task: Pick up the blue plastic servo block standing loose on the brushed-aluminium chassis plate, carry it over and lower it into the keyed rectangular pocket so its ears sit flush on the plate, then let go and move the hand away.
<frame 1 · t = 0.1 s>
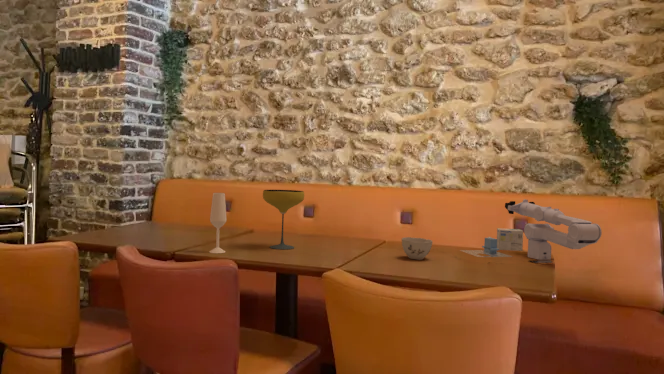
hand: (513, 205, 242), 22 cm above the table, tool horizontal, fingers open, 7 cm apart
teacup: (417, 258, 221), on the table
servo: (490, 252, 234), point 1 cm above the table, touching chassis
chassis: (485, 256, 230), on the table
light bulb box: (508, 253, 245), on the table
champagne flute: (217, 252, 219), on the table
cocktail glass: (282, 248, 236), on the table
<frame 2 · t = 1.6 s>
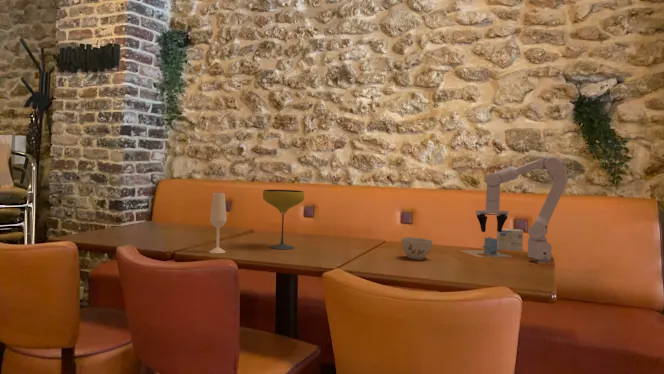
hand: (491, 231, 234), 10 cm above the table, tool pointing down, fingers open, 7 cm apart
nothing on the table moved.
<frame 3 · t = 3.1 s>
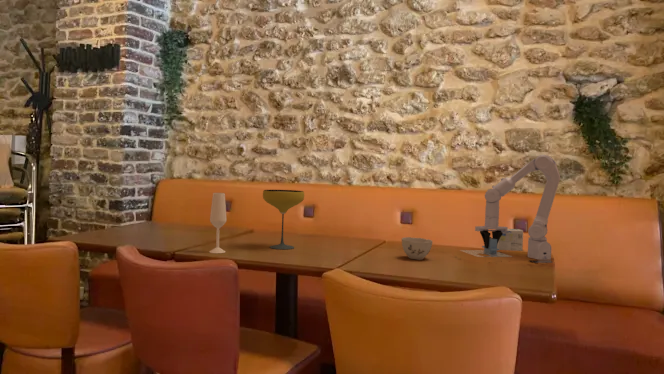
hand: (490, 247, 234), 3 cm above the table, tool pointing down, fingers closed on servo, 3 cm apart
servo: (490, 252, 234), point 1 cm above the table, touching chassis, gripper
everything else where it was.
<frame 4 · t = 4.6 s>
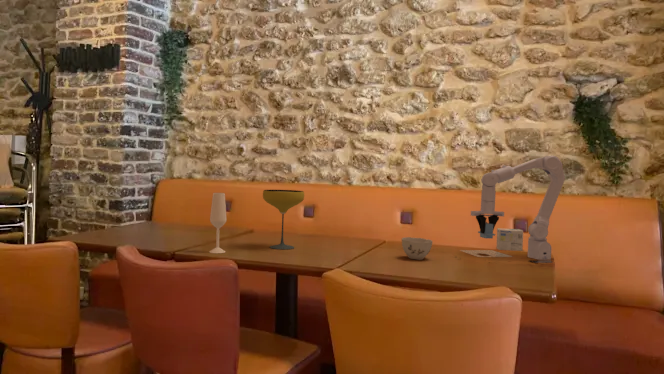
hand: (486, 233, 228), 10 cm above the table, tool pointing down, fingers closed on servo, 3 cm apart
servo: (486, 237, 228), point 9 cm above the table, touching gripper
everything else where it was.
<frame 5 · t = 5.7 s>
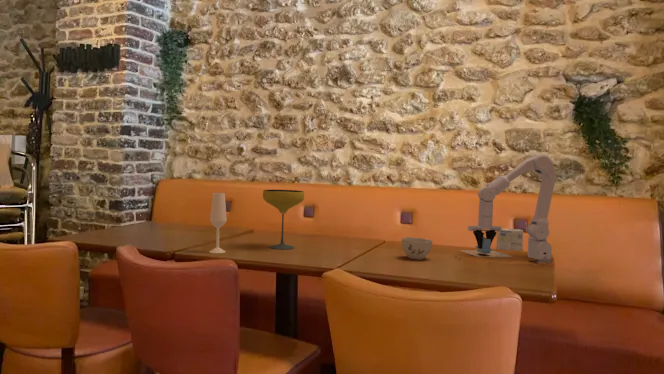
hand: (484, 248, 226), 4 cm above the table, tool pointing down, fingers closed on servo, 3 cm apart
servo: (483, 252, 226), point 2 cm above the table, touching gripper
everything else where it was.
when the fingers open (2 cm above the table, at t = 6.4 s): servo stays where it is, resting on chassis.
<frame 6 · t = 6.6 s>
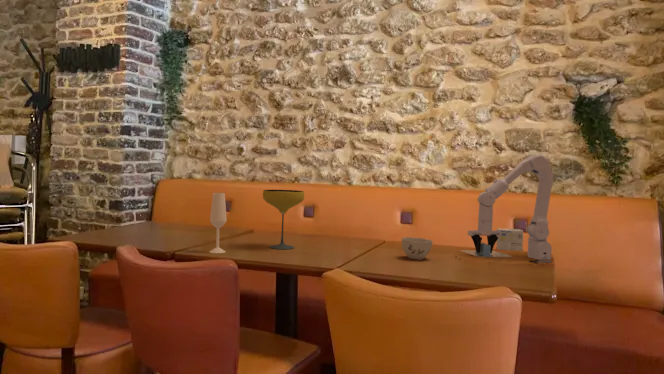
hand: (483, 252, 226), 2 cm above the table, tool pointing down, fingers open, 5 cm apart
servo: (483, 258, 226), resting on chassis
everything else where it was.
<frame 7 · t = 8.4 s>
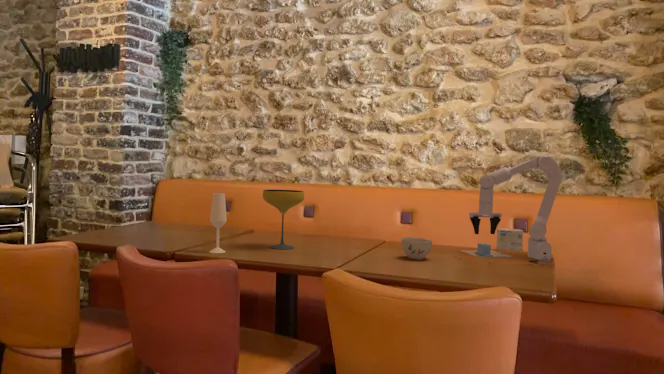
hand: (484, 234, 233), 9 cm above the table, tool pointing down, fingers open, 7 cm apart
nothing on the table moved.
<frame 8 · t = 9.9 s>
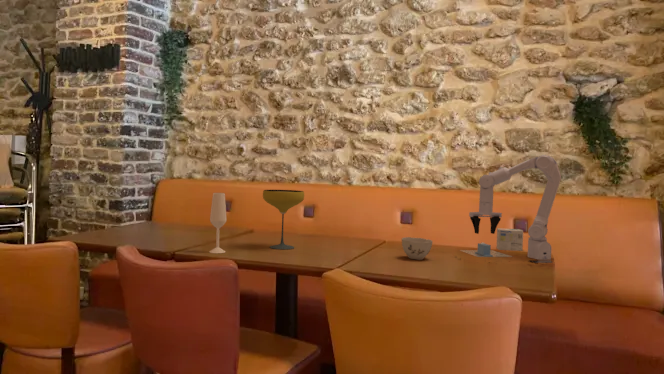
hand: (484, 233, 235), 9 cm above the table, tool pointing down, fingers open, 7 cm apart
nothing on the table moved.
at the end: servo 0.1 cm from the target spot on the chassis, point 0.0 cm above the chassis's base; servo tilted 0°; the gripper is holding nothing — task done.
